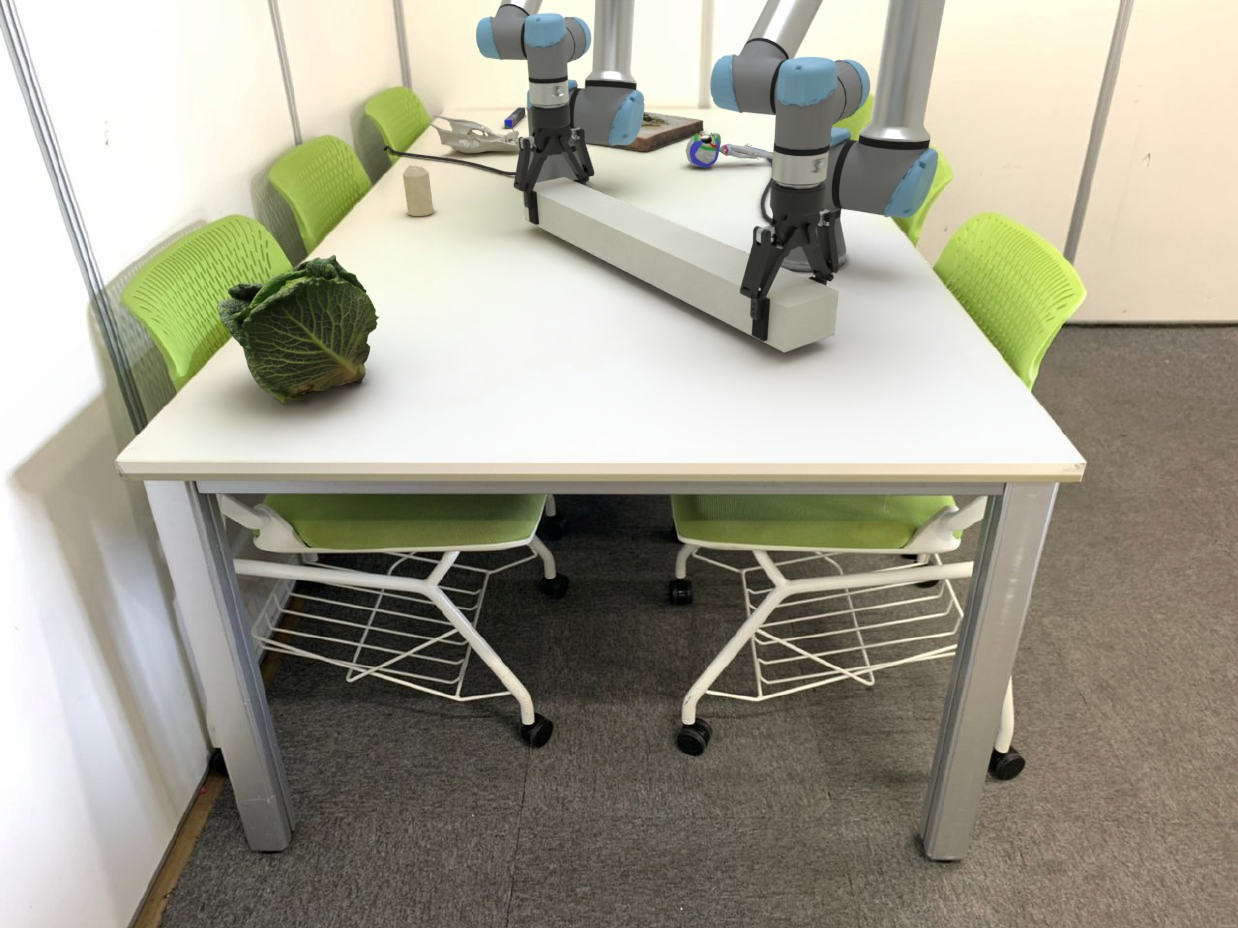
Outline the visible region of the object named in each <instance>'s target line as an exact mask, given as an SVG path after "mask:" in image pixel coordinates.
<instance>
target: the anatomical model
mask: <svg viewBox="0 0 1238 928" xmlns="http://www.w3.org/2000/svg"><path fill="white" fill-rule="evenodd" d="M433 118H437V119H440V120H441V119H442V120H445V121H447V122H448V123H449V125H450V128H451V130H448V129H444V128H441V127H439V126H437V125H435V124H433V123H432V122H430V121H428V120H427V124H428V125H429V126H431V127H432V128H434V129H435V130H436V131H437V134H438V136H439V139H440V143H441V146H449V147H450V148H451V149H453V150H454V151H458V152H460V153H463V154H479V153H484V152H491V151H492V152H493V151H495V152H496V151H497V152H519V150H520V149H519V141H518V139H519V135H520V132H519V131H518V130H515V129H514V128H513V127H512V128H511V130H512V131H508V133H507V134H503V133H495V132H493V130H492V129H490V128H489V127H488V126H486V125H483V124H482V123H478V122H477V121H473V120H468V119H464V118H452V117H448V116H444V115H440V114H433ZM474 131H478V132H481V133H482V135H480V134H478V133H476V132H474ZM486 134H487V135H486Z"/></svg>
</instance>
